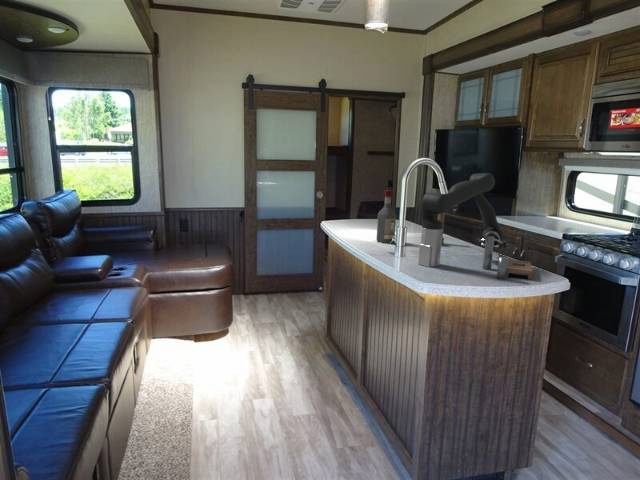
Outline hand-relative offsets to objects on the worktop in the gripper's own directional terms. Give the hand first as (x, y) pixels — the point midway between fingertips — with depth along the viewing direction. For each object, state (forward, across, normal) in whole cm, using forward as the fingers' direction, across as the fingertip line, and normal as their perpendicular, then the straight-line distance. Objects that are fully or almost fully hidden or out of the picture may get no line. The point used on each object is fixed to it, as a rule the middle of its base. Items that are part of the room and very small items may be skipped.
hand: (490, 245), depth 212 cm
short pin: (+26, +6, +9) cm, 28 cm away
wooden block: (-38, -31, +10) cm, 50 cm away
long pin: (+11, 0, +9) cm, 14 cm away
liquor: (-27, -58, +9) cm, 65 cm away
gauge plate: (+13, +13, +9) cm, 21 cm away
